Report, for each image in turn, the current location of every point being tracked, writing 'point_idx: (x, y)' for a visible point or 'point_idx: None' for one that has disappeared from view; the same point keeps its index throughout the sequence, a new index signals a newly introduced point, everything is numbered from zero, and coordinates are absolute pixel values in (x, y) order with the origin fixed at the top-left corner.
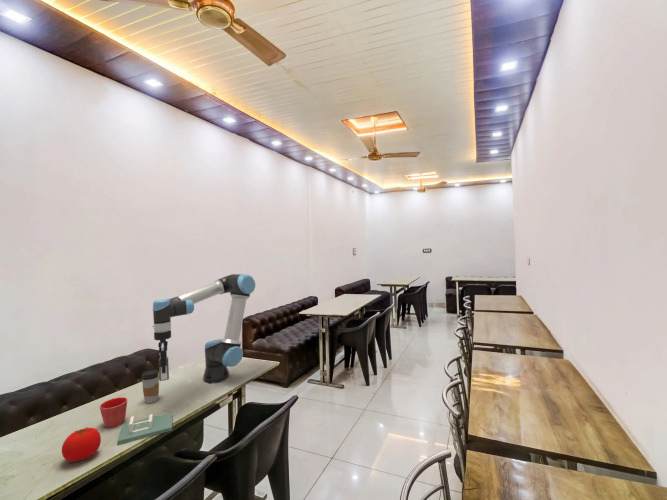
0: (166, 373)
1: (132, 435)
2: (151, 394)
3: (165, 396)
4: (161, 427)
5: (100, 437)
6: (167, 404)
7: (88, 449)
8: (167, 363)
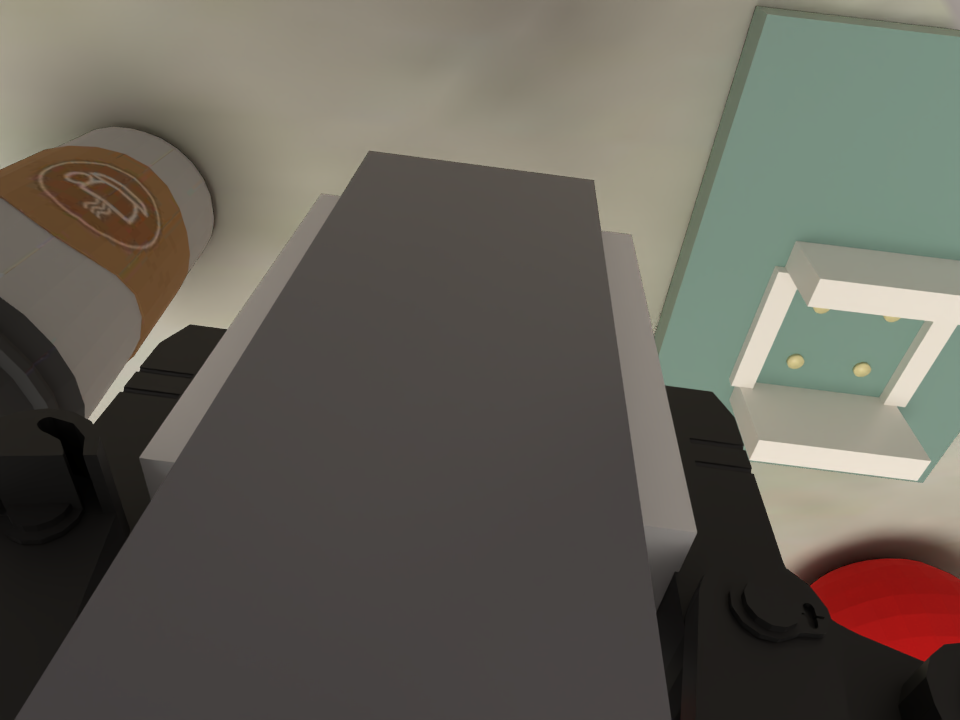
0: (642, 333)
1: (942, 402)
2: (178, 247)
3: (64, 30)
4: None
5: (951, 618)
6: (356, 31)
7: None
8: (638, 575)
